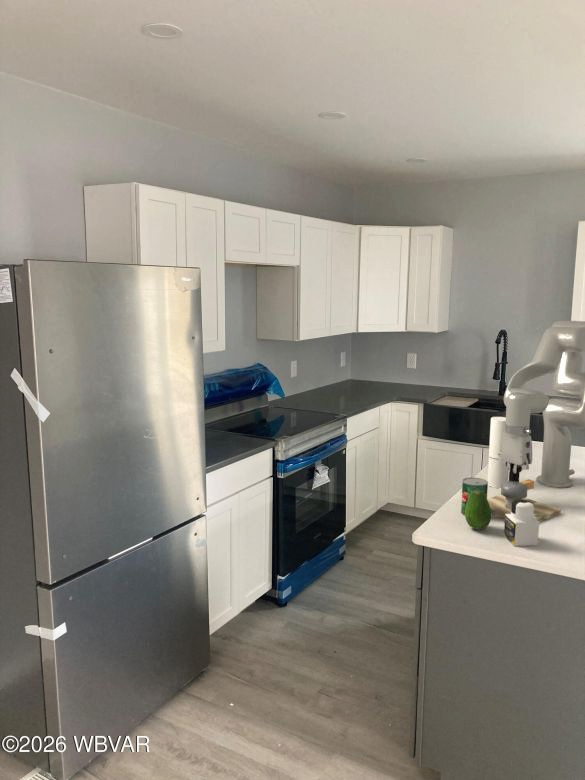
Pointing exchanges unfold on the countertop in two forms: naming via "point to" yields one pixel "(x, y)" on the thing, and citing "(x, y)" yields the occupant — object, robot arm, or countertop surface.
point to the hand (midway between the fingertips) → (513, 483)
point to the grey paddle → (516, 489)
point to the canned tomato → (472, 489)
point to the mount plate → (541, 511)
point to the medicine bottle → (521, 524)
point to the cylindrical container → (496, 454)
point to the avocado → (477, 510)
